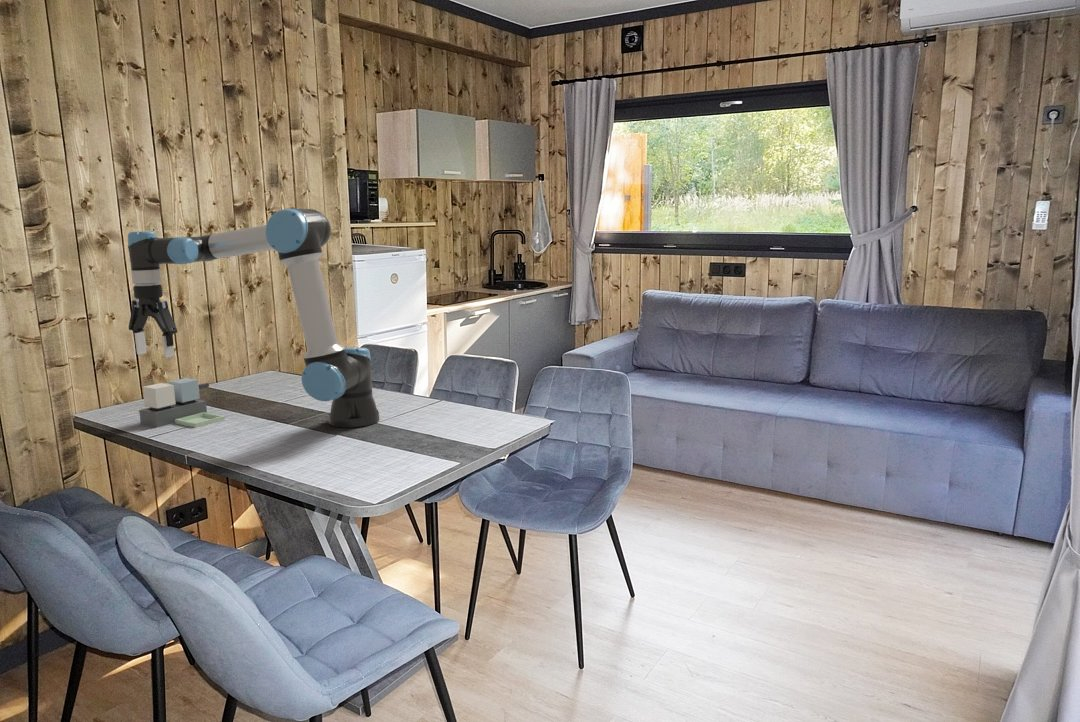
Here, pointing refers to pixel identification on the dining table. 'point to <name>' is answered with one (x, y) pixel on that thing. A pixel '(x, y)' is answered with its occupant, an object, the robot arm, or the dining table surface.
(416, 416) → the dining table surface
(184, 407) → the strip
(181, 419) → the tray
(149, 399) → the plug
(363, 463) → the dining table surface
